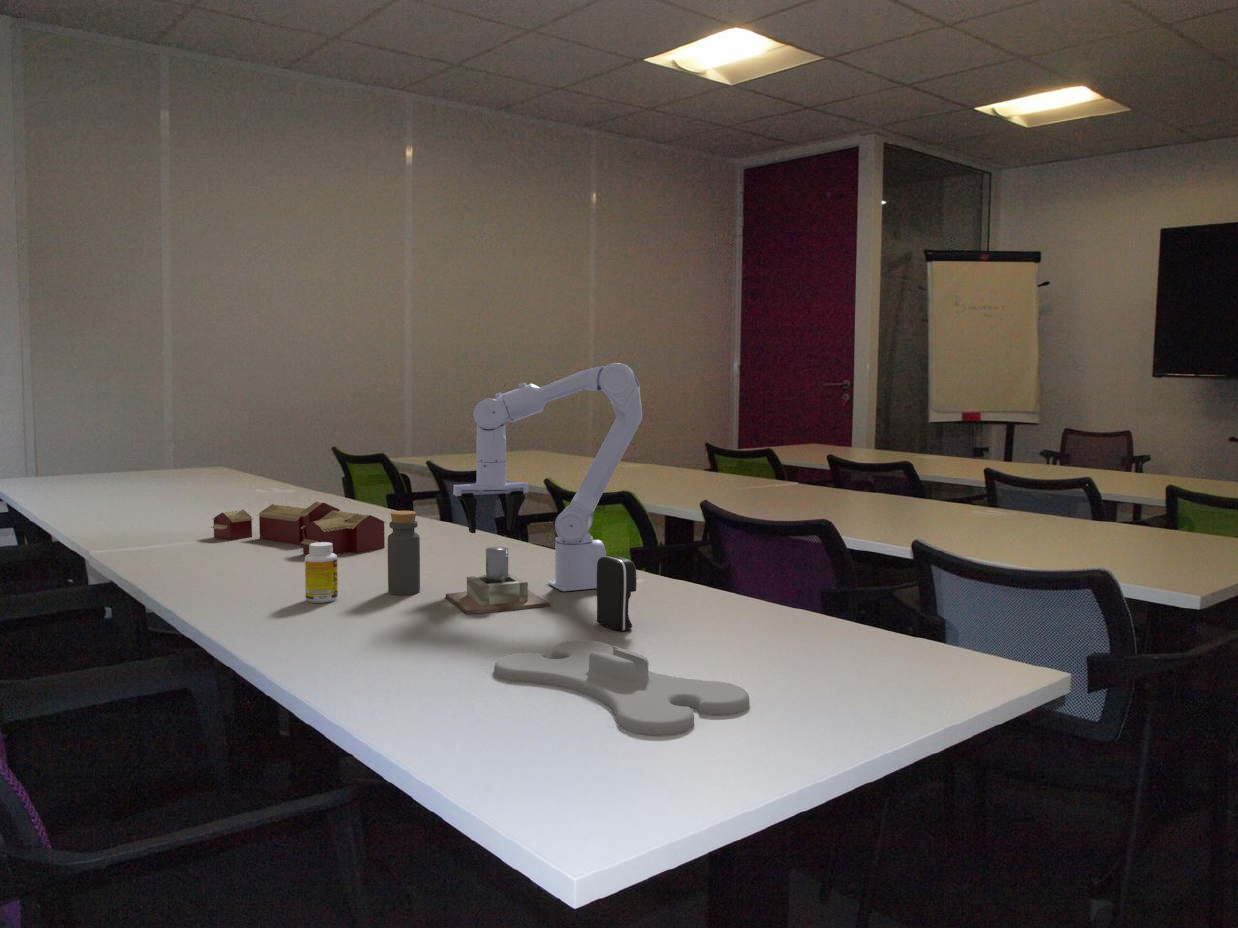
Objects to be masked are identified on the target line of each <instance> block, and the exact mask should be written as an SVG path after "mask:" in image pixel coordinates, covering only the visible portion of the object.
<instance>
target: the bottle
mask: <svg viewBox="0 0 1238 928" xmlns="http://www.w3.org/2000/svg"><path fill="white" fill-rule="evenodd" d="M389 515H390V517H391V521H390V522H389V526H388V527H389V528H390V529H392V533H390V534H389V535H387V589H388V590H387V591H388V593H389V594H391V595H395V596H408V595H409V596H410V595H415V594H418V593H420V592H421V546H420V545H421V539H420V534H418V533H417V532H415V529H416V528H418V527H419V526H418V525H419V524H418V521H416V517H417V511H414V510H395V511H392V512H390V514H389Z"/></svg>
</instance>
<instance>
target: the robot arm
mask: <svg viewBox="0 0 1238 928" xmlns="http://www.w3.org/2000/svg"><path fill="white" fill-rule="evenodd" d="M581 391H593V392H603V393H604V395H605V396H606V397H607V398H608V400H609V401H610V403H611V406H612V410H613V411H614V415H615V419H614V420H613V421H614V422H613V424H612V425H611V427H610V429H609V431H608V433H607V434H606V436H605V439H604V441H603V443H602V444H601V446H600V447H599V449H598V451H597V454H596V455H595V457H594V459H593V461H592V463H591V465H590V466H589V469H588V470H587V472H586V474H585V476H584V478H583V480H582V482H581V484H580V486H579V487H578V489H577V491H576V493H575V494H574V496H573V498H572V499H571V501H570V502H569V505H567V506H566V507H565V508H564V509H563V510H562V511H561V512H560V513H559V514H558V515H557V517H556V518H555V521H554V530H555V533H556V534H557V537H555V539H554V540H555V541H554V543H555V545H554V546H555V547H554V550H555V552H554V553H555V556H554V557H555V560H554V562H555V565H554V567H555V568H554V572H555V574H554V578H555V579H553V580H548V581H547V583H548V584H549V585H550V586H552V587H553V588H555V589H558V591H560V592H561V591H562V592H570V591H581V590H582V591H583V590H590V589H597V563H598V560H599V559H600V558H601V557H603V556H607V552H606V547H605V544H604V543H603V540H600V539H594V536H592V535H591V533H590V532H589V530H590V529H591V527H592V525H593V523H594V522H593V521H594V511H595V510H596V507H597V505H598V503H599V502H600V500H601V498H602V495H603V494H604V492H605V490H606V488H607V487H608V484H609V482H610V481H611V478H612V477H613V475H614V473H615V471H616V469H617V467H618V465H619V464H620V462H621V460H622V458H623V456H624V454H625V453H626V450H627V449H628V447H629V445H630V443H631V441H632V439H633V437H634V435H635V434H636V432H637V430H638V428H639V426H640V424H641V422H642V420H643V408H642V407H643V406H642V397H641V386H640V382H639V380H638V378H637V376H636V374H635V372H634V370H633V369H632V368H631V367H630V366H629V365H626V364H624V363H618V362H614V363H613V362H612V363H610V364H607V365H606V366H604V365H602V366H597V367H591V368H587V369H584V370H581V371H578V372H576V373H574V374H571V375H569V376H566V377H564V378H561V379H559V380H556V381H553V382H551V383H549V384H545V385H543V386H539V385H536V384H533V383H529V384H527V383H526V382H522V383H519V384H518V388H516V389H512V390H509V391H507V392H504V393H502V392H497V393H495V394H494V395H495V398H490V397H489V398H484V399H483V400H482V401H481V400H480V402H477V404H476V406H475V407H474V409H473V418H474V419H473V420H474V422H475V423H476V438H475V441H476V442H475V443H476V445H475V446H476V450H475V451H476V452H475V453H476V454H475V455H476V466H475V467H476V472H475V473H476V482H475V483H464V484H463V483H462V484H453V492H452V493H453V496H456V497H457V499H458V502H459V504H460V505H461V508H462V510H463V513H464V515H465V518H466V522H467V527H468V532H469V533H471V534H476V533H477V522H476V521H477V519H476V515H477V514H476V513H477V505H478V504H477V503H478V499H477V498H475V497H476V496H475V495H496V494H497V495H501V494H505V495H504V496H505V503H506V505H505V506H506V530H507V531H511V532H513V531H515V525H516V521H517V517H518V514H519V512H520V509H521V507H522V506H523V503H524V502H525V500H526V494H529V491H530V490H529V488H530V487H529V486H530V485H529V482H525V481H524V482H523V481H520V482H519V481H517V482H515V481H514V482H510V481H508V482H507V435H506V432H507V431H506V428H507V427H506V424H507V423H514V422H518V421H519V420H522V419H524V418H525V419H526V418H528V417H531V416H533V415H536V414H539V413H541V412H543V411H544V408H545V406H546V404H547V403H548V402H551V401H554V400H558V399H560V398H561V399H562V398H564V397H566V396H569V395H572V394H576V393H579V392H581Z"/></svg>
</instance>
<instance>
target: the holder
mask: <svg viewBox="0 0 1238 928" xmlns="http://www.w3.org/2000/svg"><path fill="white" fill-rule="evenodd" d="M493 671H494V675H495V676H496V677H498V678H499V679H501V680H504V681H508V682H509V681H510V682H513V683H514V682H515V683H530V684H539V685H546V686H553V687H559V688H563V689H566V690H572V691H575V692H578V693H581V694H583V695H587V696H589V697H592V698H593V699H596V700H598V701H600V702H601V703H603V704H604V705H606V706H607V707H608V708H609V709H610V710H611V711H612V713H613V714H614V715H615V716H614V717H616V721H617V724H618V726H619V727H620V728H621V729H623V730H624V731H627V732H629V733H633V734H635V735H641V736H649V737H650V736H651V737H667V736H676V735H680V734H683V733H686V732H687V731H689V730H691V729H692V728H694V724H695V714H694V711H693V710H692V709H694V710H697V711H698V715H703V716H716V717H717V716H719V717H720V716H730V715H736V714H739V713H742V712H745V711H746V710H747V709H748V708H749V706H750V695H749V693H748V691H747V690H745V688H743V687H741V686H739V685H736V684H734V683H730V682H724V681H715V680H703V679H701V680H700V679H694V678H693V679H691V678H685V677H677V676H671V675H667V674H662V673H657V672H653V671H650V670H649V659H648V658H647V657H646V656H645V655H643V654H639V653H636V652H634V651H630V650H627V649H624V648H622V647H618V646H615V645H610V644H609V643H606V642H603V641H599V640H591V639H577V640H569V641H568V640H567V641H564V642H563V641H562V642H561V643H558V644H556V645H555V646H554V647H553V648H552V650H551V658H548V657H546V655H545V654H543V653H542V652H518V653H512V654H508V655H505V656H502V657H500V658H498V659H497V660H496V662H495V663H494V668H493Z"/></svg>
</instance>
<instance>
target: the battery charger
mask: <svg viewBox="0 0 1238 928" xmlns="http://www.w3.org/2000/svg"><path fill="white" fill-rule="evenodd" d="M637 583H638V582H637V568H636V565H635V563H634V562H633V561H632V560H631V559H629V558H626V557H623V556H617V555H609V556H608V555H606V556H603V557H601V558H600V559H599V560H598V563H597V588H596V622H597V623H598V624H599V625H602V626H603V627H607V628H610V629H612V630H616V631H619V632H623V631H624V632H625V630H630V629H632V627H633V623H632V622H631V619H630V617H629V600H630V598H631V595H632V593H633V592H636V591H637Z"/></svg>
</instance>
